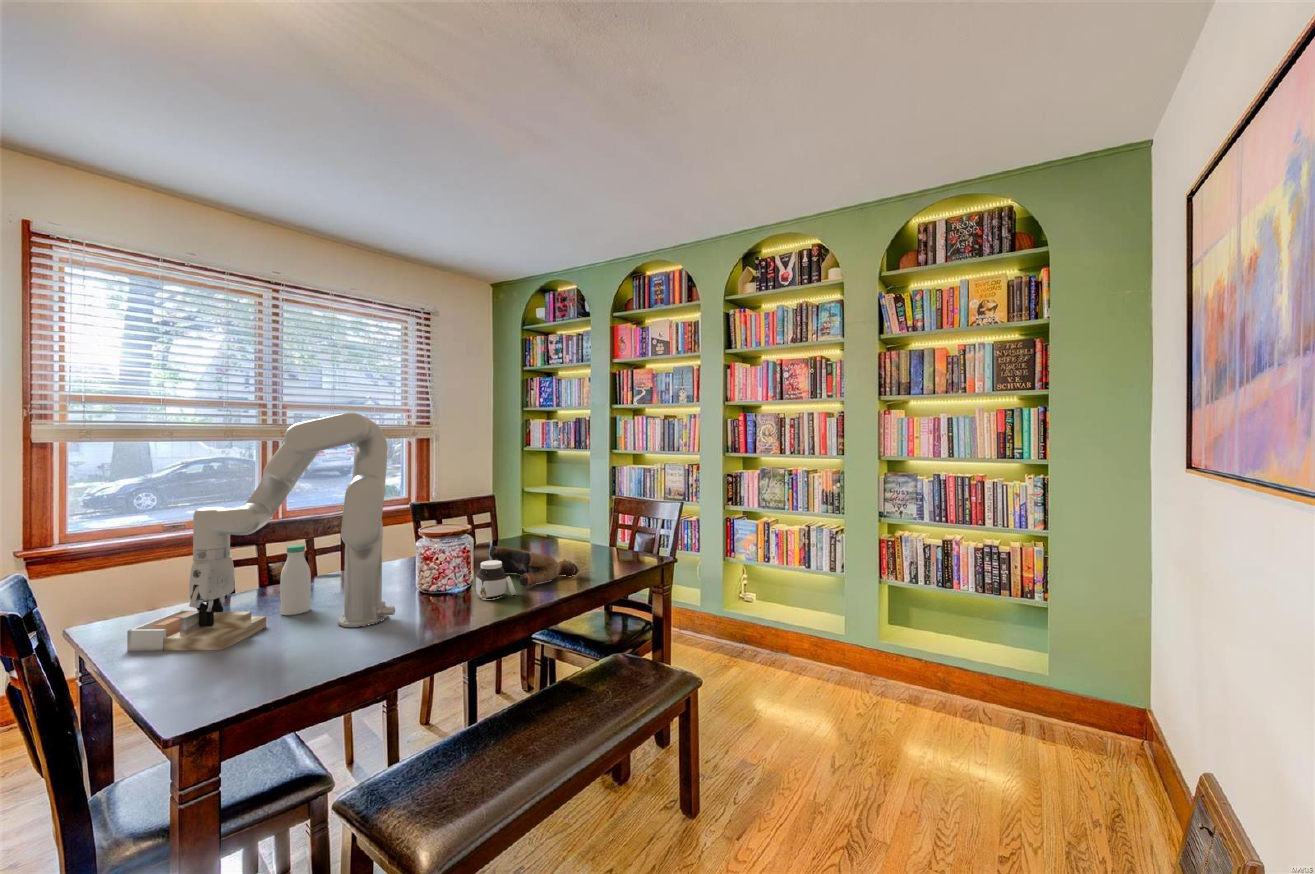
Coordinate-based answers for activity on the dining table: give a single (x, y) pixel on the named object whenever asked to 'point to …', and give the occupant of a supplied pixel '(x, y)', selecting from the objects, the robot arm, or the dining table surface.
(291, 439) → the robot arm
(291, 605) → the milk bottle
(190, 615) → the scraper
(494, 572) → the spread jar
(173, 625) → the tile
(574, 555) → the dining table surface
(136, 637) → the box
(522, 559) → the brown teddy bear
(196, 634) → the board
